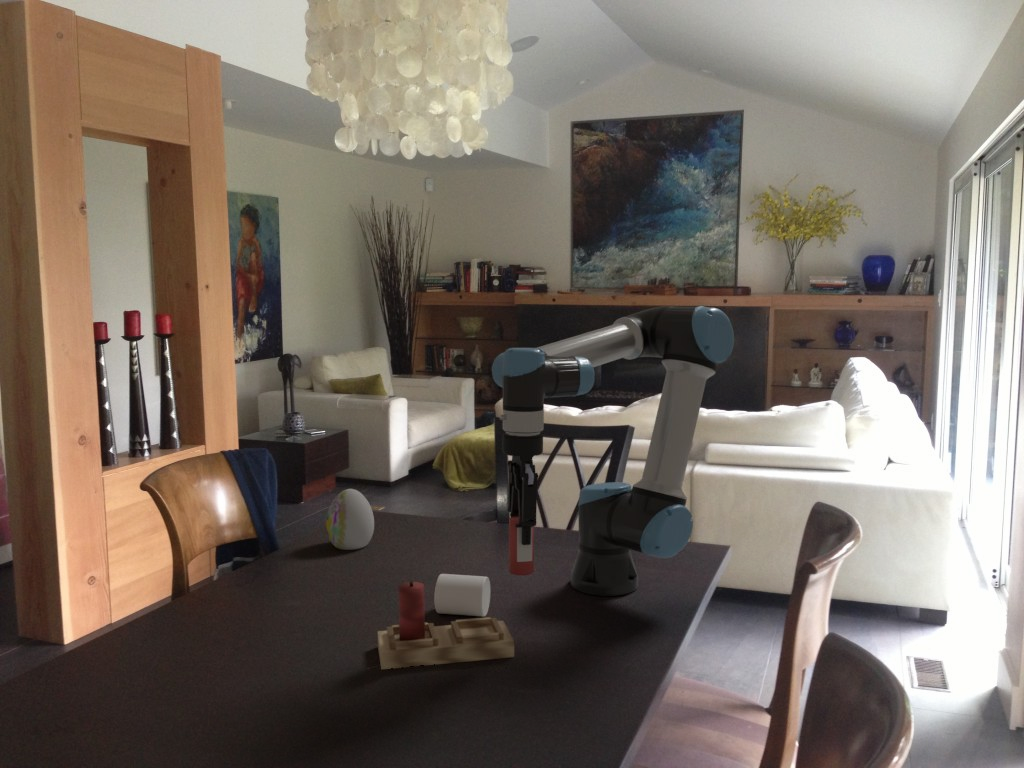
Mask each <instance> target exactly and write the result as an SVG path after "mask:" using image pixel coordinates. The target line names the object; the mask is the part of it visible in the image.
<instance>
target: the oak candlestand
mask: <svg viewBox="0 0 1024 768" xmlns="http://www.w3.org/2000/svg"><path fill="white" fill-rule="evenodd" d="M425 616H426V615H425V584H423V583H422V582H417V581H413V580H411V581H407V582H403V583H400V584H399V586H398V618H399V619H398V620H399V621H398V623H399V624H393V625H391V626H387V627H386V630H377V649H378V650H377V651H378V657H379V663H380V664H379V665H380V670H389V669H390V670H391V668H393V669H401V668H402V667H403V668H411V667H410V666H414V667H421V666H420V665H424V666H432V665H433V666H434V664H435V665H444V664H454V663H465V662H475V661H486V660H495V659H497V660H498V659H507V658H515V640H514V638H513V636H512V634H511V633H510V630H509V629H508V627H507V625H506V624H505V622H504V620H498V619H497V618H496V617H491V616H489V617H487V616H484V617H475V618H465V619H455V620H453V621H452V620H451V621H450V624H448V625H447V624H445V625H436V626H435V624H434V622H429V623H428V622H427V621H425Z"/></svg>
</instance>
